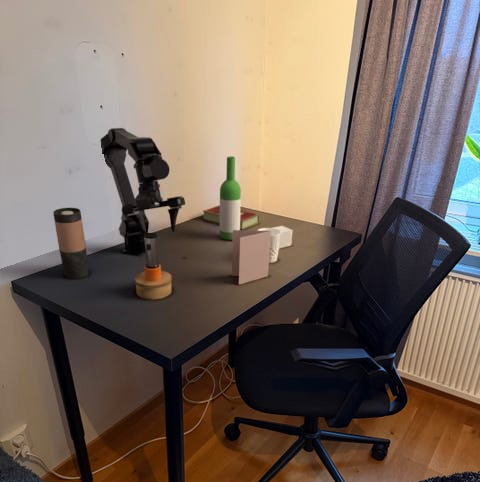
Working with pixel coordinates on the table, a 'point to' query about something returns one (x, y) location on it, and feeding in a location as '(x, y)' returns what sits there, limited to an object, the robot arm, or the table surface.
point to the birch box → (153, 286)
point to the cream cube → (285, 236)
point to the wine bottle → (229, 202)
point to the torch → (151, 258)
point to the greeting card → (250, 254)
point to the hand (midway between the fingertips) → (159, 233)
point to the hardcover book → (245, 217)
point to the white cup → (273, 243)
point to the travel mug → (71, 242)
